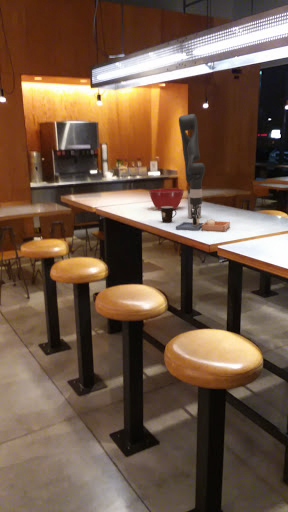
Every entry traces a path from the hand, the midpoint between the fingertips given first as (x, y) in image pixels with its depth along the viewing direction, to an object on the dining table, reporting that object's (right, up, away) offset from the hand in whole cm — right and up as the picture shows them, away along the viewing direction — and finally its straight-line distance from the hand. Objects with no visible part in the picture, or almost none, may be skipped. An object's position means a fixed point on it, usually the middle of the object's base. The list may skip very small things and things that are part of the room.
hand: (195, 223), depth 262 cm
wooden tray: (+12, -4, -4) cm, 13 cm away
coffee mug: (-16, +3, +22) cm, 27 cm away
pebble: (0, -1, 0) cm, 1 cm away
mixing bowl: (-14, +18, +79) cm, 82 cm away
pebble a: (+9, -3, -3) cm, 10 cm away
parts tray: (-3, -2, +2) cm, 4 cm away
